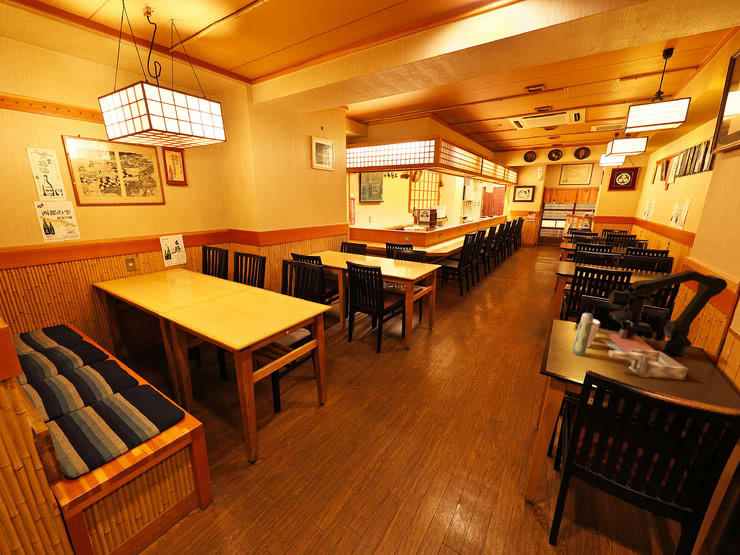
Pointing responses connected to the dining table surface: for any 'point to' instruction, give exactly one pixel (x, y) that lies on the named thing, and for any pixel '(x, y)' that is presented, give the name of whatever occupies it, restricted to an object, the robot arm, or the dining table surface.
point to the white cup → (595, 327)
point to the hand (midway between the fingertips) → (626, 336)
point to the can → (590, 334)
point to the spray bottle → (583, 334)
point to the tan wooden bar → (625, 355)
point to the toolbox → (656, 365)
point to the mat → (612, 345)
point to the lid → (629, 341)
